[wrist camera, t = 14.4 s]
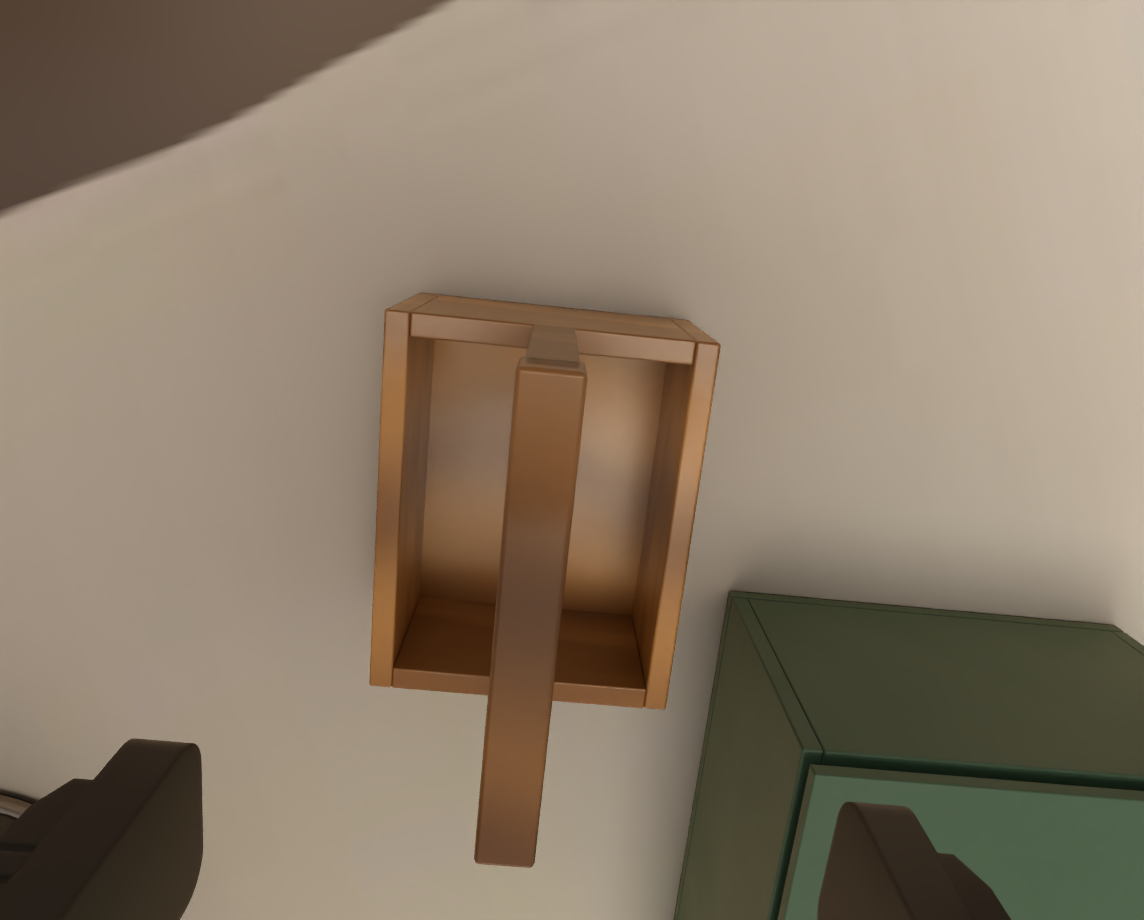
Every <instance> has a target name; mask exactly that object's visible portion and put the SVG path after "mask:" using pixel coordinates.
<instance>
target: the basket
mask: <svg viewBox="0 0 1144 920" xmlns="http://www.w3.org/2000/svg"><path fill="white" fill-rule="evenodd" d="M719 353H720V344H719V343H718V342H717V341H715V340H714V339H713V338H711V337H710V336H709V335H707V334H706V333H705V332H703V331H702V330H700V329H699V328H698V327H696V326H695V325H694V324H692V323H691V322H690V321H688V320H680V319H670V318H660V317H651V316H641V315H631V314H622V313H612V312H602V311H593V310H583V309H573V308H564V307H554V306H544V305H534V304H525V303H515V302H505V301H496V300H486V299H476V298H467V297H457V296H447V295H438V294H428V293H419V294H417V295H415V296H413V297H411V298H409V299H407V300H405V301H402V302H400V303H398V304H396V305H394V306H392V307H390V308H388V309H386V310H385V322H384V346H383V370H382V394H381V418H380V443H379V467H378V491H377V515H376V539H375V563H374V587H373V611H372V635H371V659H370V685H371V686H383V687H391V686H392V687H394V688H406V689H418V690H430V691H442V692H454V693H466V694H478V695H488V703H487V715H486V726H485V738H484V750H483V761H482V773H481V785H480V796H479V808H478V820H477V831H476V843H475V855H474V859H475V862H476V863H478V864H486V865H500V866H513V867H527V868H530V867H532V866H533V864H534V862H535V853H536V844H537V835H538V826H539V816H540V807H541V798H542V789H543V780H544V771H545V762H546V753H547V743H548V734H549V725H550V716H551V707H552V701H563V702H575V703H587V704H599V705H611V706H623V707H635V708H643V707H645V708H651V709H665V707H666V702H667V695H668V688H669V682H670V675H671V669H672V662H673V656H674V649H675V642H676V636H677V629H678V623H679V616H680V609H681V603H682V596H683V590H684V583H685V577H686V570H687V563H688V557H689V550H690V544H691V537H692V531H693V524H694V517H695V511H696V504H697V498H698V491H699V484H700V478H701V471H702V465H703V458H704V452H705V445H706V438H707V432H708V425H709V419H710V412H711V405H712V399H713V392H714V386H715V379H716V373H717V366H718V359H719Z"/></svg>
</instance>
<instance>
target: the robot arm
mask: <svg viewBox="0 0 1144 920" xmlns="http://www.w3.org/2000/svg"><path fill="white" fill-rule="evenodd" d="M202 855H203V817H202V770H201V754H200V750H199V747H198V746H197V745H196V744H193V743H181V742H170V741H158V740H146V739H130V740H128V741H127V742H126V743H125V744H124V745H123V746H122V747H121V748H120V749H119V750H118V751H117V753H116V754H115V755H114V756H113V757H112V759H111V760H110V761H109V762H108V763H107V764H106V766H105V767H104V768H103V769H102V770H101V771H100V773H99V774H98V775H97V776H96V777H95V779H94V780H85V779H72V780H71V781H69V782H68V783H66V784H64V785H63V786H61V787H60V788H58V789H56V790H55V791H53V792H52V793H50V794H48V795H47V796H45V797H44V798H42V799H40V800H39V801H37V802H36V803H34V804H30V803H27V802H24V801H22V800H18V799H15V798H11V797H7V796H2V795H0V920H180V918H181V917H182V915H183V913H184V911H185V909H186V908H187V906H188V904H189V902H190V899H191V897H192V895H193V892H194V889H195V886H196V883H197V880H198V876H199V872H200V867H201V862H202ZM817 920H1011V919H1010V917H1009V915H1008V914H1007V912H1006V911H1005V909H1004V908H1003V906H1002V905H1001V903H1000V901H999V900H998V898H997V897H996V895H995V894H994V892H993V890H992V889H991V888H990V887H989V886H988V885H987V884H986V883H985V882H984V881H983V880H981V879H980V878H979V877H978V876H977V875H976V874H975V873H974V872H973V871H972V870H970V869H969V868H968V867H967V866H966V865H965V864H964V863H963V862H962V861H961V860H959V859H958V858H957V857H956V856H955V855H954V854H945V853H937V851H936V849H935V848H934V846H933V844H932V843H931V841H930V839H929V838H928V836H927V834H926V832H925V831H924V829H923V827H922V826H921V824H920V822H919V821H918V819H917V817H916V816H915V814H914V813H913V811H912V810H911V809H910V808H908V807H905V806H896V805H884V804H872V803H860V802H849V801H848V802H845V803H844V804H843V805H842V807H841V809H840V811H839V814H838V817H837V822H836V826H835V830H834V835H833V839H832V843H831V848H830V852H829V856H828V861H827V865H826V869H825V874H824V878H823V883H822V887H821V891H820V896H819V901H818V911H817Z"/></svg>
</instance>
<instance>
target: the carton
mask: <svg viewBox="0 0 1144 920" xmlns="http://www.w3.org/2000/svg"><path fill="white" fill-rule="evenodd" d="M848 801H849V802H860V803H872V804H884V805H896V806H905V807H908V808H910V809H911V810H912V811H913V813H914V814H915V816H916V817H917V819H918V821H919V822H920V824H921V826H922V827H923V829H924V831H925V832H926V834H927V836H928V838H929V839H930V841H931V843H932V844H933V846H934V848H935V849H936V851H937V853H945V854H954V855H955V856H956V857H957V858H958V859H959V860H961V861H962V862H963V863H964V864H965V865H966V866H967V867H968V868H969V869H970V870H972V871H973V872H974V873H975V874H976V875H977V876H978V877H979V878H980V879H981V880H983V881H984V882H985V883H986V884H987V885H988V886H989V887H990V888H991V889H992V890H993V892H994V894H995V895H996V897H997V898H998V900H999V901H1000V903H1001V905H1002V906H1003V908H1004V909H1005V911H1006V912H1007V914H1008V915H1009V917H1010V919H1011V920H1144V646H1143V645H1141V644H1140V643H1139V642H1137V641H1136V640H1134V639H1133V638H1132V637H1130V636H1129V635H1127V634H1126V633H1124V632H1123V631H1122V630H1121V629H1119V628H1118V627H1116V626H1115V625H1104V624H1093V623H1081V622H1070V621H1059V620H1048V619H1037V618H1026V617H1014V616H1003V615H992V614H981V613H970V612H959V611H947V610H936V609H925V608H914V607H903V606H892V605H880V604H869V603H858V602H847V601H836V600H825V599H813V598H802V597H791V596H780V595H769V594H758V593H746V592H735V591H730V592H729V596H728V602H727V608H726V614H725V620H724V626H723V631H722V637H721V643H720V649H719V655H718V661H717V667H716V673H715V679H714V685H713V691H712V697H711V703H710V709H709V715H708V721H707V726H706V732H705V738H704V744H703V750H702V756H701V762H700V768H699V774H698V780H697V786H696V792H695V798H694V804H693V810H692V816H691V822H690V827H689V833H688V839H687V845H686V851H685V857H684V863H683V869H682V875H681V881H680V887H679V893H678V899H677V905H676V911H675V917H674V920H817V911H818V901H819V896H820V891H821V887H822V883H823V878H824V874H825V869H826V865H827V861H828V856H829V852H830V848H831V843H832V839H833V835H834V830H835V826H836V822H837V817H838V814H839V811H840V809H841V807H842V805H843V804H844V803H845V802H848Z"/></svg>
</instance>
